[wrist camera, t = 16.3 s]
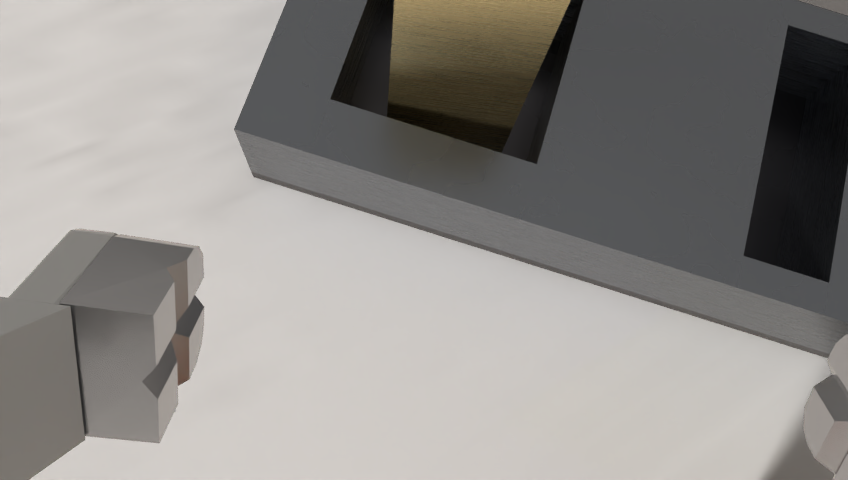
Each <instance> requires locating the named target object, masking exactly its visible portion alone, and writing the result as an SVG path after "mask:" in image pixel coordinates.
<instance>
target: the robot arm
mask: <svg viewBox="0 0 848 480" xmlns="http://www.w3.org/2000/svg"><path fill="white" fill-rule="evenodd" d="M203 278H204V268H203V253H202V251H201V249H200V247H199V246H194V245H187V244H181V243H174V242H168V241H161V240H155V239H148V238H142V237H135V236H129V235H122V234H120V235H118V234H116V233H111V232H103V231H94V230H86V229H75V230H71V231H69V232H68V233H67V234H66V236H65V237H64V238H63V239H62V240H61V241H60V242H59V243H58V244H57V245H56V246H55V247H54V249H53V250H52V251H51V252H50V253H49V254H48V255H47V256H46V257H45V258H44V259H43V260H42V262H41V263H40V264H39V265H38V266H37V267H36V268H35V269H34V270H33V271H32V272H31V274H30V275H29V276H28V277H27V278H26V279H25V280H24V281H23V282H22V283H21V284H20V285H19V287H18V288H17V289H16V290H15V291H14V292H13V293H12V294H11V295H10V296H9V297H8V298H5V297H0V480H29V479H30V478H32V477H33V476H35V475H36V474H38V473H39V472H40V471H42V470H43V469H45V468H46V467H47V466H49V465H50V464H52V463H53V462H55V461H56V460H57V459H59V458H60V457H62V456H63V455H64V454H66V453H67V452H69V451H70V450H71V449H73V448H74V447H76V446H77V445H79V444H80V443H81V442H83V441H84V440H85V436H91V437H101V438H111V439H122V440H132V441H142V442H153V443H160V441H161V439H162V437H163V435H164V433H165V431H166V428H167V426H168V424H169V422H170V420H171V418H172V416H173V414H174V412H175V409H176V407H177V405H178V386H179V385H180V384H182V383H184V382H186V381H187V380H189V379H190V377H191V375H192V372H193V370H194V368H195V366H196V363H197V359H198V355H199V352H200V348H201V344H202V337H203V328H204V306H203V305H202V304H201V302H200V301H199V300H198V298H197V297H196V296H195V293H196V291H197V289H198V288H199V286H200V284H201V282H202V280H203ZM827 361H828V364H829V367H830V370H831V373H832V375H831V376H829V377H828V378H826V379H825V380H823V381H822V382H820V383H819V384H817V385H816V386H814V387H813V389H812V391H811V394H810V396H809V398H808V400H807V403H806V405H805V407H804V422H803V430H804V434H805V438H806V443H807V445H808V447H809V449H810V451H811V453H812V455H813V456H814V458H815V459H816V460H817V461H818V462H819V463H821V464H822V465H823V466H825V467H826V468H827V469H828V470H830V471H831V472H832V473H834V476H833V479H832V480H848V334H846V335H845V336H843V337H842V338H841V339H840V340H839V341H838V342H837V343H836V344H835V346H834V348H833V349H832V351H831V353H830V355H829V357H828V359H827Z"/></svg>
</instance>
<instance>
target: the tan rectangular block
mask: <svg viewBox="0 0 848 480" xmlns="http://www.w3.org/2000/svg"><path fill="white" fill-rule="evenodd" d="M570 1H571V0H394V13H393V29H392V45H391V61H390V76H389V92H388V108H387V117H389V118H392V119H395V120H398V121H401V122H404V123H408V124H411V125H414V126H417V127H420V128H424V129H427V130H430V131H433V132H436V133H439V134H443V135H446V136H449V137H452V138H455V139H458V140H462V141H465V142H468V143H471V144H474V145H478V146H481V147H484V148H487V149H490V150H493V151H497V152H500V153H501V152H502V150H503V148H504V146H505V144H506V141H507V139H508V137H509V135H510V133H511V130H512V128H513V126H514V124H515V122H516V120H517V117H518V115H519V113H520V111H521V109H522V106H523V104H524V102H525V100H526V98H527V95H528V93H529V91H530V89H531V87H532V84H533V82H534V80H535V78H536V76H537V73H538V71H539V69H540V67H541V65H542V62H543V60H544V58H545V56H546V54H547V51H548V49H549V47H550V45H551V43H552V40H553V38H554V36H555V34H556V32H557V29H558V27H559V25H560V23H561V21H562V18H563V16H564V14H565V12H566V10H567V7H568V5H569V3H570Z"/></svg>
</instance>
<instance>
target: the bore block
mask: <svg viewBox="0 0 848 480" xmlns="http://www.w3.org/2000/svg"><path fill="white" fill-rule="evenodd" d="M393 13H394V0H287V2H286V4H285V7H284V9H283V12H282V14H281V16H280V19H279V21H278V24H277V26H276V29H275V31H274V33H273V36H272V38H271V41H270V43H269V46H268V48H267V50H266V53H265V55H264V58H263V60H262V63H261V65H260V68H259V70H258V72H257V75H256V77H255V80H254V82H253V85H252V87H251V89H250V92H249V94H248V97H247V99H246V102H245V104H244V106H243V109H242V111H241V114H240V116H239V119H238V121H237V123H236V126H235V128H234V130H235V132H236V135H237V137H238V140H239V142H240V145H241V147H242V150H243V152H244V154H245V157H246V159H247V162H248V164H249V167H250V169H251V172H252V174H253V176H254V177H256V178H259V179H262V180H266V181H269V182H272V183H275V184H278V185H281V186H285V187H288V188H291V189H294V190H297V191H300V192H304V193H307V194H310V195H313V196H316V197H319V198H323V199H326V200H329V201H332V202H335V203H338V204H342V205H345V206H348V207H351V208H354V209H357V210H361V211H364V212H367V213H370V214H373V215H376V216H380V217H383V218H386V219H389V220H392V221H395V222H398V223H402V224H405V225H408V226H411V227H414V228H417V229H421V230H424V231H427V232H430V233H433V234H436V235H440V236H443V237H446V238H449V239H452V240H455V241H459V242H462V243H465V244H468V245H471V246H474V247H478V248H481V249H484V250H487V251H490V252H493V253H497V254H500V255H503V256H506V257H509V258H512V259H516V260H519V261H522V262H525V263H528V264H531V265H535V266H538V267H541V268H544V269H547V270H550V271H554V272H557V273H560V274H563V275H566V276H569V277H573V278H576V279H579V280H582V281H585V282H588V283H592V284H595V285H598V286H601V287H604V288H607V289H611V290H614V291H617V292H620V293H623V294H626V295H629V296H633V297H636V298H639V299H642V300H645V301H648V302H652V303H655V304H658V305H661V306H664V307H667V308H671V309H674V310H677V311H680V312H683V313H686V314H690V315H693V316H696V317H699V318H702V319H705V320H709V321H712V322H715V323H718V324H721V325H724V326H728V327H731V328H734V329H737V330H740V331H743V332H747V333H750V334H753V335H756V336H759V337H762V338H766V339H769V340H772V341H775V342H778V343H781V344H785V345H788V346H791V347H794V348H797V349H800V350H804V351H807V352H810V353H813V354H816V355H819V356H823V357H826V358H828V357H829V355H830V353H831V351H832V349H833V348H834V346H835V344H836V343H837V342H838V341H839V340H840V339H841V338H842V337H843V336H845V335H846V334H848V16H846V15H843V14H840V13H837V12H833V11H830V10H827V9H824V8H820V7H817V6H814V5H811V4H808V3H804V2H801V1H798V0H571V1H570V3H569V5H568V7H567V10H566V12H565V14H564V16H563V18H562V21H561V23H560V25H559V27H558V29H557V32H556V34H555V36H554V38H553V40H552V43H551V45H550V47H549V49H548V51H547V54H546V56H545V58H544V60H543V62H542V65H541V67H540V69H539V71H538V73H537V76H536V78H535V80H534V82H533V84H532V87H531V89H530V91H529V93H528V95H527V98H526V100H525V102H524V104H523V106H522V109H521V111H520V113H519V115H518V117H517V120H516V122H515V124H514V126H513V128H512V130H511V133H510V135H509V137H508V139H507V141H506V144H505V146H504V148H503V150H502V152H501V153H500V152H497V151H493V150H490V149H487V148H484V147H481V146H478V145H474V144H471V143H468V142H465V141H462V140H458V139H455V138H452V137H449V136H446V135H443V134H439V133H436V132H433V131H430V130H427V129H424V128H420V127H417V126H414V125H411V124H408V123H404V122H401V121H398V120H395V119H392V118H389V117H387V108H388V92H389V76H390V61H391V45H392V29H393Z"/></svg>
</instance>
